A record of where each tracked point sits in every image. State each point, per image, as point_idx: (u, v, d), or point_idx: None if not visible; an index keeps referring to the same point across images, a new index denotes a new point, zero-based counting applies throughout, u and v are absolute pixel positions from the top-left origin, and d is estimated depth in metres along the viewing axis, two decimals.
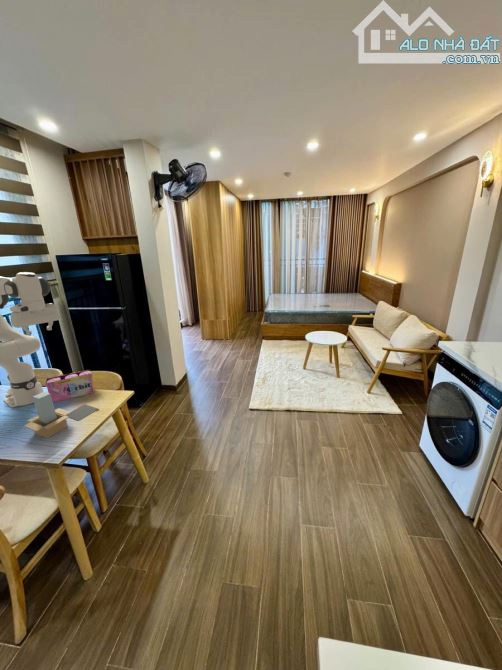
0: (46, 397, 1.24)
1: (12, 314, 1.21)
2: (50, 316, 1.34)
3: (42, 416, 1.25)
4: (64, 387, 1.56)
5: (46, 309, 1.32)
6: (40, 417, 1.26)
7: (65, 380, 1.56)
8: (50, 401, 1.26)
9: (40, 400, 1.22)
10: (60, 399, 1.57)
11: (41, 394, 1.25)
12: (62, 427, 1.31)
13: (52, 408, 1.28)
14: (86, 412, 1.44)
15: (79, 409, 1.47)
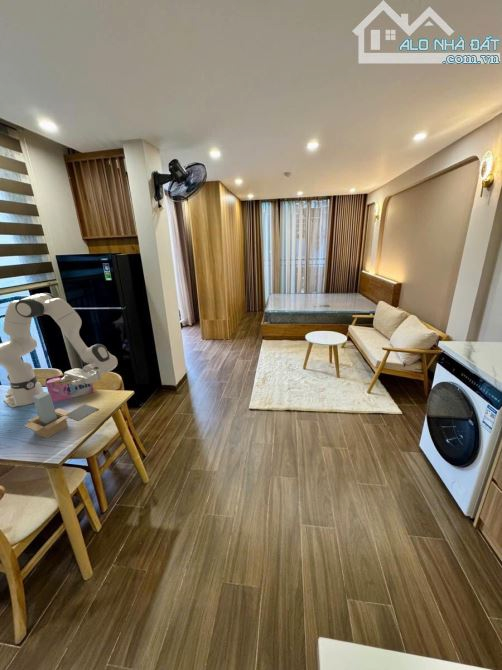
0: (46, 397, 1.24)
1: (97, 375, 1.41)
2: None
3: (42, 416, 1.25)
4: (64, 387, 1.56)
5: None
6: (40, 417, 1.26)
7: (65, 380, 1.56)
8: (50, 401, 1.26)
9: (40, 400, 1.22)
10: (60, 399, 1.57)
11: (41, 394, 1.25)
12: (62, 427, 1.31)
13: (52, 408, 1.28)
14: (86, 412, 1.44)
15: (79, 409, 1.47)
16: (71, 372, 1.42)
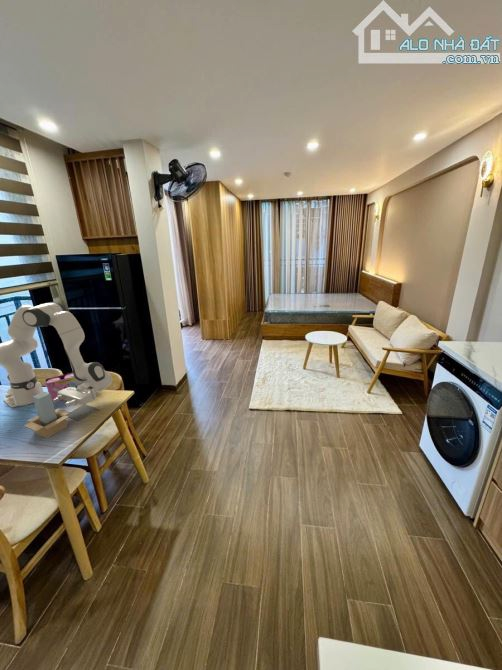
0: (46, 397, 1.24)
1: (91, 395, 1.39)
2: None
3: (42, 416, 1.25)
4: (64, 387, 1.57)
5: None
6: (40, 417, 1.26)
7: (65, 380, 1.56)
8: (50, 401, 1.26)
9: (40, 400, 1.22)
10: (60, 399, 1.57)
11: (41, 394, 1.25)
12: (62, 427, 1.31)
13: (52, 408, 1.28)
14: (86, 412, 1.44)
15: (79, 409, 1.47)
16: (64, 392, 1.40)
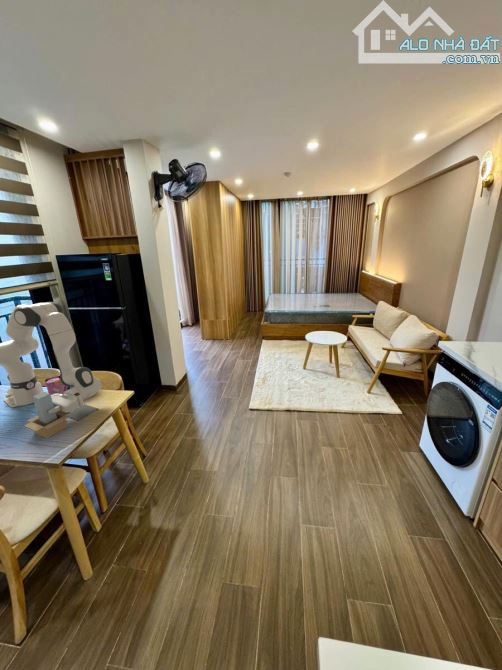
0: (46, 397, 1.24)
1: (77, 402, 1.32)
2: None
3: (42, 416, 1.25)
4: (64, 387, 1.57)
5: None
6: (40, 417, 1.26)
7: None
8: (50, 401, 1.26)
9: (40, 400, 1.22)
10: None
11: (41, 394, 1.25)
12: (62, 427, 1.31)
13: None
14: (86, 412, 1.44)
15: (79, 409, 1.47)
16: None
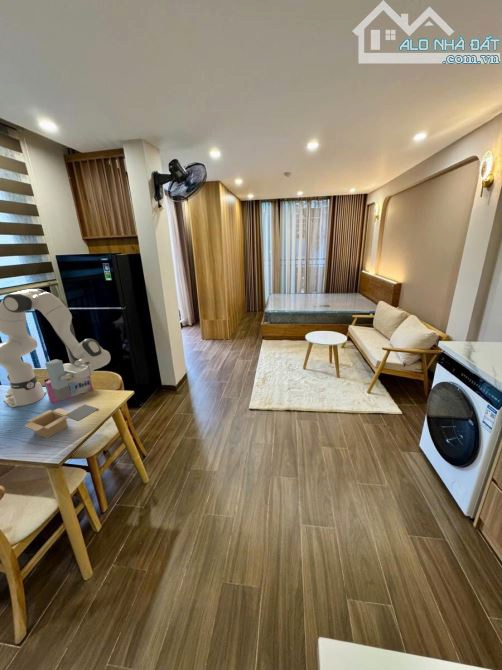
0: (58, 364, 1.28)
1: (88, 370, 1.36)
2: None
3: (54, 382, 1.29)
4: None
5: None
6: (52, 383, 1.30)
7: None
8: (62, 368, 1.30)
9: (52, 366, 1.26)
10: None
11: (53, 361, 1.29)
12: (62, 427, 1.31)
13: None
14: (86, 412, 1.44)
15: (79, 409, 1.47)
16: None
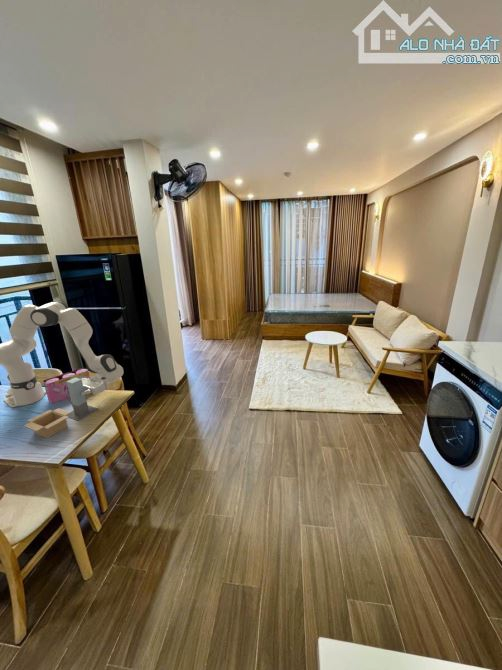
0: (78, 382, 1.39)
1: (104, 385, 1.46)
2: None
3: (74, 399, 1.39)
4: (65, 386, 1.58)
5: None
6: (72, 400, 1.40)
7: (65, 379, 1.57)
8: (81, 386, 1.40)
9: (73, 384, 1.36)
10: (61, 399, 1.57)
11: (73, 379, 1.39)
12: (62, 427, 1.31)
13: None
14: (86, 412, 1.44)
15: None
16: None
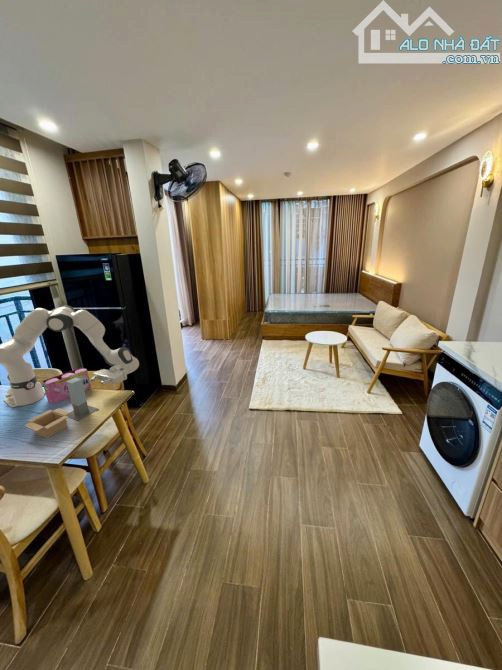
0: (78, 382, 1.39)
1: (123, 375, 1.57)
2: None
3: (74, 399, 1.39)
4: (65, 386, 1.58)
5: None
6: (72, 400, 1.40)
7: (65, 379, 1.58)
8: (81, 386, 1.40)
9: (73, 384, 1.36)
10: (61, 398, 1.57)
11: (73, 379, 1.39)
12: (62, 427, 1.31)
13: (83, 392, 1.42)
14: (86, 412, 1.44)
15: None
16: (99, 373, 1.58)
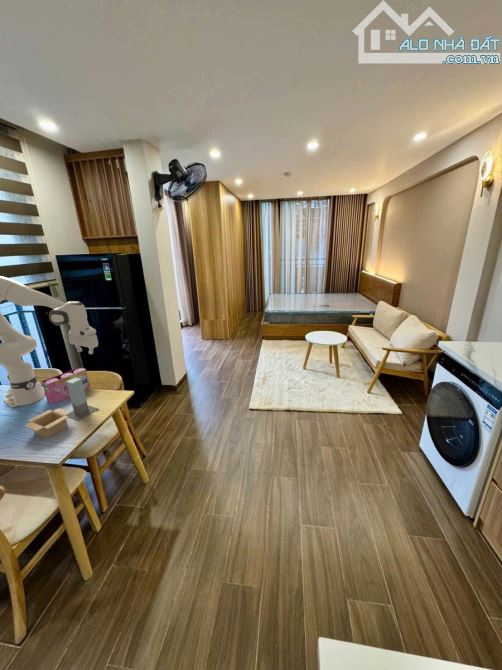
0: (78, 382, 1.39)
1: (91, 336, 1.42)
2: None
3: (74, 399, 1.39)
4: (64, 386, 1.58)
5: None
6: (72, 400, 1.40)
7: (65, 378, 1.58)
8: (81, 386, 1.40)
9: (73, 384, 1.36)
10: (61, 398, 1.57)
11: (73, 379, 1.39)
12: (62, 427, 1.31)
13: (83, 392, 1.42)
14: (86, 412, 1.44)
15: None
16: (73, 342, 1.48)
